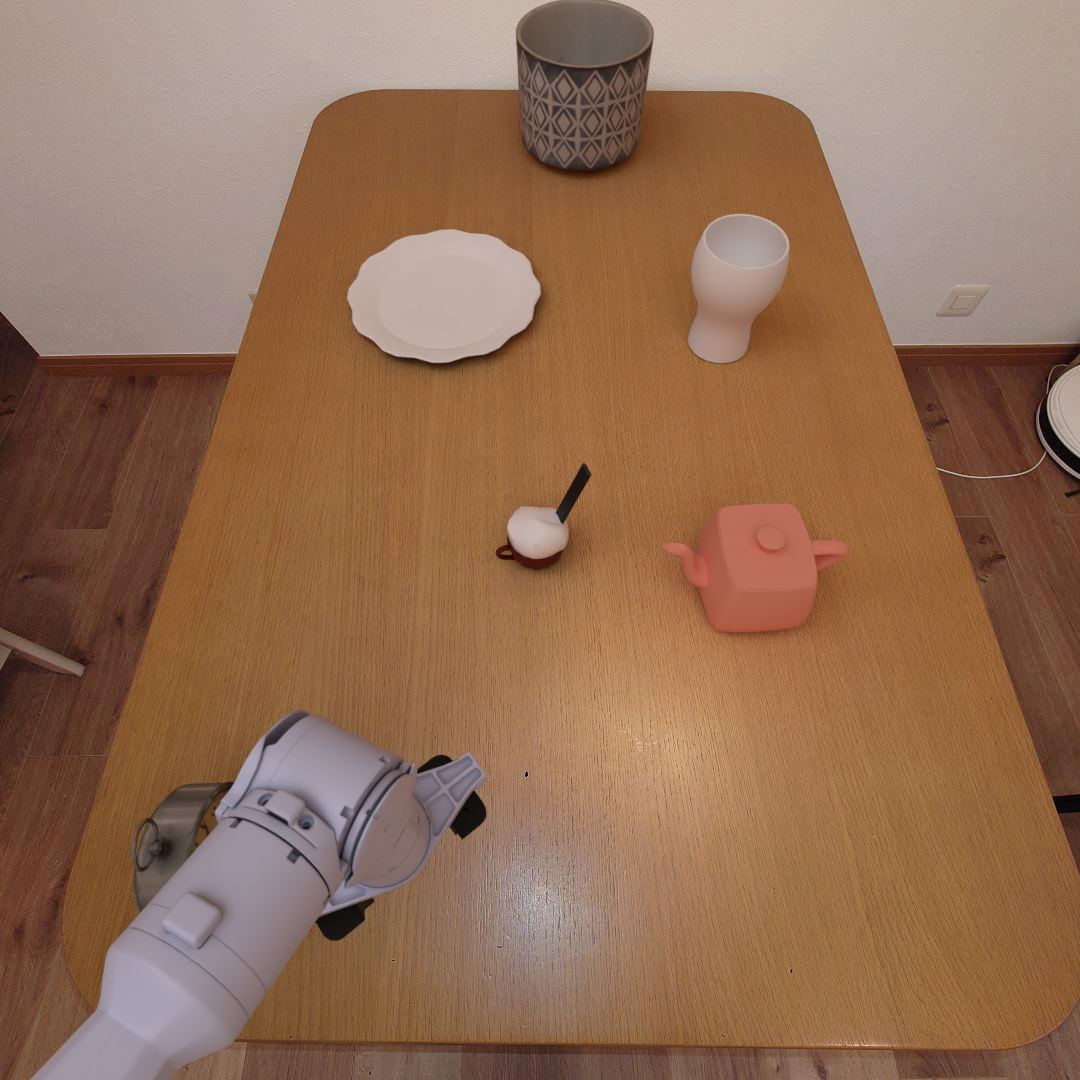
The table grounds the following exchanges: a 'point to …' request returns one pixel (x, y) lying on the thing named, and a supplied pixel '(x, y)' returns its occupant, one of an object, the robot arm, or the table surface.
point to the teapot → (757, 567)
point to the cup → (734, 282)
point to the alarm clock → (173, 836)
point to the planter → (582, 82)
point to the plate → (444, 296)
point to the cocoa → (542, 529)
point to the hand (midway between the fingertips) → (408, 855)
